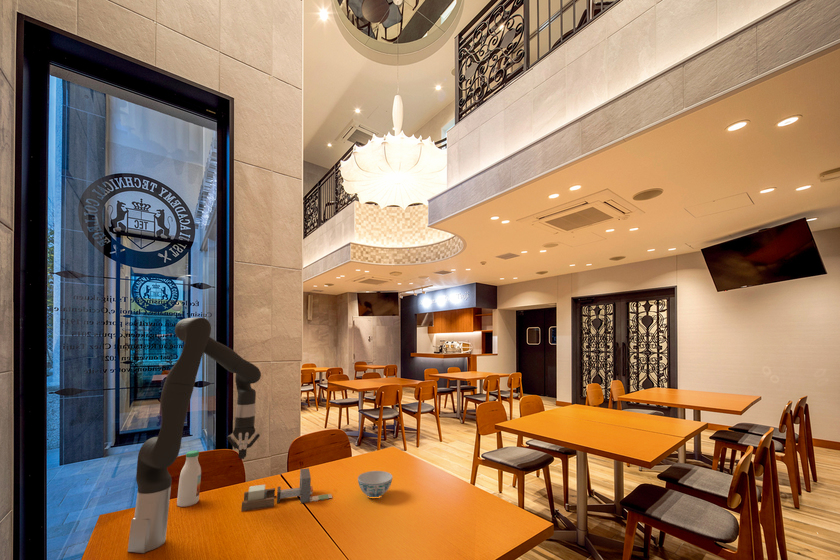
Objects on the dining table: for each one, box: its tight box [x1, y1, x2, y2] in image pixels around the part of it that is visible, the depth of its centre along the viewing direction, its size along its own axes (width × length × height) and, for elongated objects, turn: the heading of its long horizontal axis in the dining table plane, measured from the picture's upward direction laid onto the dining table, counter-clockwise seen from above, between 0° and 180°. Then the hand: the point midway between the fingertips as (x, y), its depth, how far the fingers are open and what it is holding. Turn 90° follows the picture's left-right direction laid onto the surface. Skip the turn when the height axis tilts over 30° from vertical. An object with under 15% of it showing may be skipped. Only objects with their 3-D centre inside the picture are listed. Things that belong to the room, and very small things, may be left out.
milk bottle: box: [176, 449, 202, 508], centre depth 153 cm, size 8×8×20 cm
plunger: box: [276, 485, 314, 504], centre depth 156 cm, size 14×8×4 cm, turn 110°
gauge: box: [240, 467, 333, 512], centre depth 156 cm, size 35×13×9 cm, turn 110°
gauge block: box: [247, 484, 268, 501], centre depth 152 cm, size 7×6×6 cm
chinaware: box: [357, 470, 393, 497], centre depth 159 cm, size 15×15×8 cm
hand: (242, 458), depth 152 cm, fingers closed
